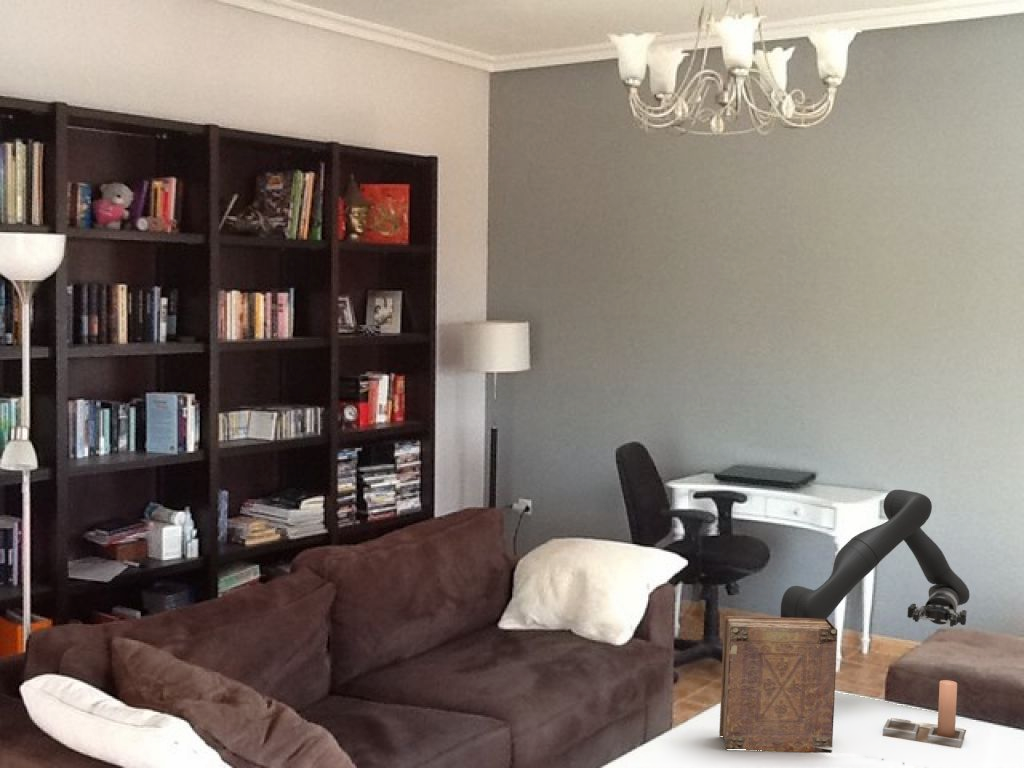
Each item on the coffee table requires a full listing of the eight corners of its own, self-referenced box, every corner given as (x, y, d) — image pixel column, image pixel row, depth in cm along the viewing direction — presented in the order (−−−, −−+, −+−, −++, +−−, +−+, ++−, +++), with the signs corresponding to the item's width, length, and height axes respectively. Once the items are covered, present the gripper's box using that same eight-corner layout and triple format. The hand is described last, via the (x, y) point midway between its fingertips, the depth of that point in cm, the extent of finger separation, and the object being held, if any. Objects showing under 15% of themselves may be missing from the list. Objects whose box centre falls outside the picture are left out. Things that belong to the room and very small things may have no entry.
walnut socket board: (882, 741, 308) (882, 729, 308) (890, 724, 321) (891, 712, 321) (960, 754, 301) (960, 741, 301) (966, 735, 314) (966, 723, 313)
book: (724, 750, 300) (729, 626, 298) (719, 736, 310) (723, 615, 307) (832, 753, 300) (837, 628, 298) (823, 739, 309) (828, 618, 307)
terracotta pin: (936, 740, 306) (938, 683, 304) (938, 735, 309) (940, 679, 308) (953, 743, 304) (956, 686, 303) (955, 738, 307) (958, 681, 306)
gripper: (914, 589, 339) (905, 602, 324) (970, 596, 333) (964, 609, 318) (912, 617, 339) (903, 630, 325) (969, 624, 333) (962, 639, 319)
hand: (933, 620), depth 321 cm, fingers open, 8 cm apart
